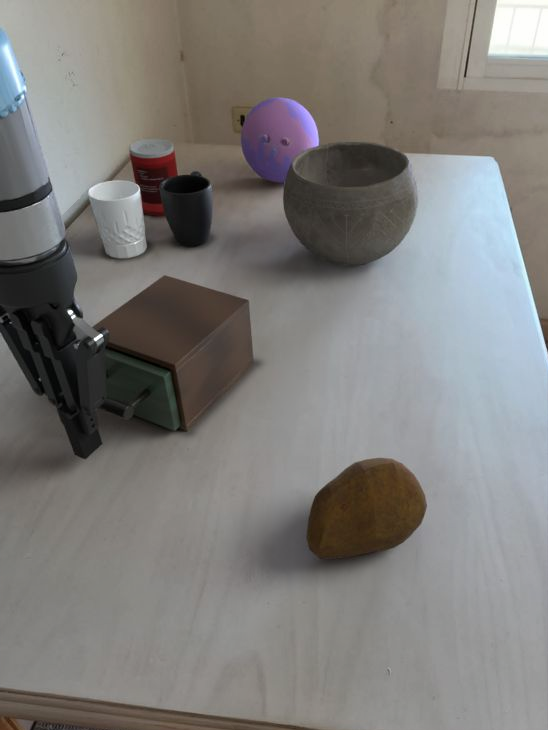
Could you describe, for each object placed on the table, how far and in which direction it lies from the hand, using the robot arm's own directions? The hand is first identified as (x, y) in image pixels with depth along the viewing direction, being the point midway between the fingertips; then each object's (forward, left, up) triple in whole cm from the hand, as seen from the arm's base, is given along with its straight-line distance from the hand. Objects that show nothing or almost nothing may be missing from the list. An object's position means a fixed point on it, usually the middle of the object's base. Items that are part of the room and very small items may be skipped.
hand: (88, 449), depth 67 cm
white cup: (-29, +40, -2) cm, 50 cm away
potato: (+30, +5, -2) cm, 30 cm away
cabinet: (0, +16, -2) cm, 16 cm away
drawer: (0, +12, -1) cm, 12 cm away
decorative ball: (-21, +78, -2) cm, 81 cm away
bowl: (+4, +57, -2) cm, 57 cm away
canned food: (-34, +56, -2) cm, 66 cm away
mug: (-22, +50, -2) cm, 55 cm away
